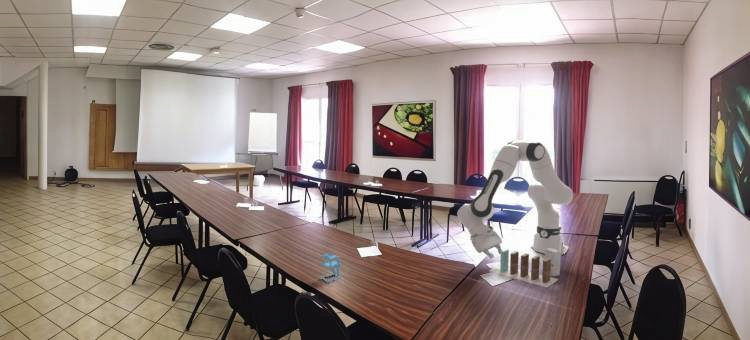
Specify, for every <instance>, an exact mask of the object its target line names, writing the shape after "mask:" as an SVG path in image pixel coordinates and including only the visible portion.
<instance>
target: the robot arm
mask: <svg viewBox="0 0 750 340" xmlns="http://www.w3.org/2000/svg"><path fill="white" fill-rule="evenodd" d="M519 161H520V162H529V163H528V164H529V167H530V171H531V173H532V176H533V179H534V180H535V181H536V182H533V183H531V184H529V186H528V187H527V195H528V197H529V198H530V199H531V201H532V202H533V203H534V206H535V207H536V211H537V226H536V233H535V234H534V237H533V245H531V246H530V248H531V249H532V250H534V251H535V252H537V253H540V254H544V255H545V249H547V248H553V249H556V250H558V251H561V255H563V254H564V255H566V254H567V252H568V250H569V246H568V245H565V238H564V237H563V235H561V230H562V226H560V214H559V212H558V211H557V210H556V209H555V208H554V207H553V205H569V204H570V203H572V201H573V198H574V193H573V192H574V191H573V190H572V188H571V187H569V186H568V185H567V184H565V183H564V182H563V181H562V180H561V179H560V178H559V176H558V175H557V173H556V171H555V169H554V166H553V162H552V158H551V156H550V154H549V152H548V150H547V147H546V146H544V145H543V143H541V142H539V141H535V140H533V141H532V140H527V139H522V140H515V139H514V140H511V141H509V142H507V144H506V145H504V146H502V148H501V149H500V151H499V152H498V153H497V155H496V157H495V159H494V161H493V163H492V166H491V168H490V172H489V175H488V178H487V179H486V181H485V184H484V185H483V187H482V189H481V192H480V193H478V195H477V196H476V197H474V199H473V200H472V201H471V203H464V204H463V205H461V206H460V207H459V209H458V210H457V213H456V215H457V217H458V219H459V221H460V222H461V223H462V225H463V226H464V227H465V228H466V229H467V231H468V233H469V234H470V241H471V244H472V247H474V249H475V251H476V252H477V253H478V254H481V253H484V255H485V256H487V257H488V258H489V259H493V258H494V257H495V256H494V254H493V253H491V252H490V249H493V248H496V249H497V253H498V254H499V255H501V251H502V250H503V249H502V246H501V244H502V243H503V241H502V238H501V237H500V236H499V234H498V233H497V231H495V230H494V227H493V226H492V225H487V224H485V223H484V222H485V221H487V220H489V219H491V218H492V217H493V216H494V214H495V207H494V205H493V203H492V202H493V198H494V196H495V194H496V193H497V190H498V188H499V186H500V185H501V184H502V183H504V182H507V181H509V180H510V178H511V177H512V176H513V173H514V172H515V170H516V168H517V165H518V163H519ZM565 253H566V254H565Z"/></svg>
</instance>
